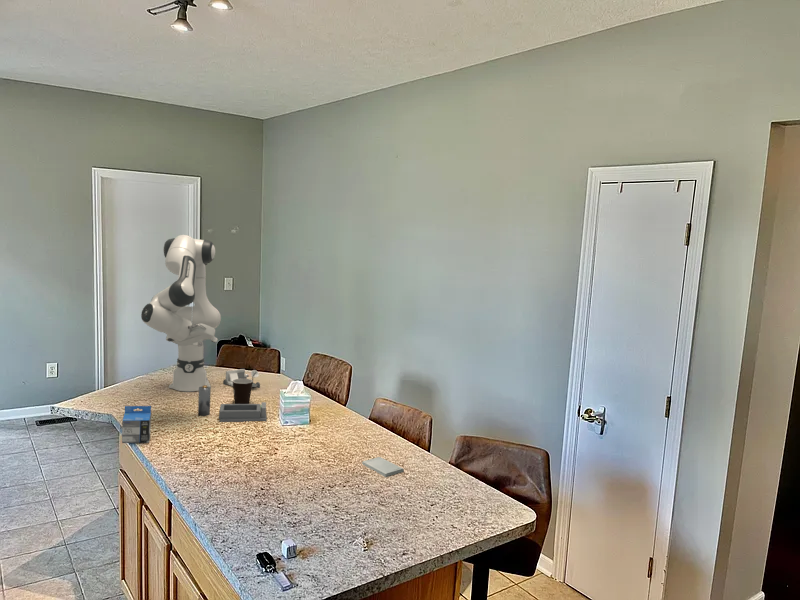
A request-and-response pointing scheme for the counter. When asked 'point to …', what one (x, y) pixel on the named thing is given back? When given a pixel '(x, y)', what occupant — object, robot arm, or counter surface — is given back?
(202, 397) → the cell
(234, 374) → the toy lunar rover
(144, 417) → the label tape cartridge
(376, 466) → the hard drive
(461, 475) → the counter surface
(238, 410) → the cradle
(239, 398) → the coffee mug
